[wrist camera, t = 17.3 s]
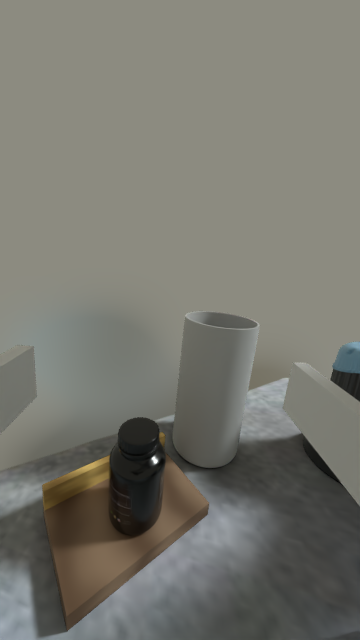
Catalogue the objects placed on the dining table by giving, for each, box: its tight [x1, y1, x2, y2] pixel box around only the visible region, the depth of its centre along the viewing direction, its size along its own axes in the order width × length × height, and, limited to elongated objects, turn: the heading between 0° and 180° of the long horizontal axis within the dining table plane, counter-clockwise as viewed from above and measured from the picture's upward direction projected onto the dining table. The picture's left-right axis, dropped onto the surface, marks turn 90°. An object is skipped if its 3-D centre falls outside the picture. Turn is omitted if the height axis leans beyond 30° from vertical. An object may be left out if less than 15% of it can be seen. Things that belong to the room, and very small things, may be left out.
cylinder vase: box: [173, 311, 260, 468], centre depth 42 cm, size 12×12×25 cm
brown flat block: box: [42, 432, 209, 631], centre depth 31 cm, size 18×12×5 cm, turn 128°
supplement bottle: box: [108, 417, 166, 536], centre depth 29 cm, size 7×7×12 cm
